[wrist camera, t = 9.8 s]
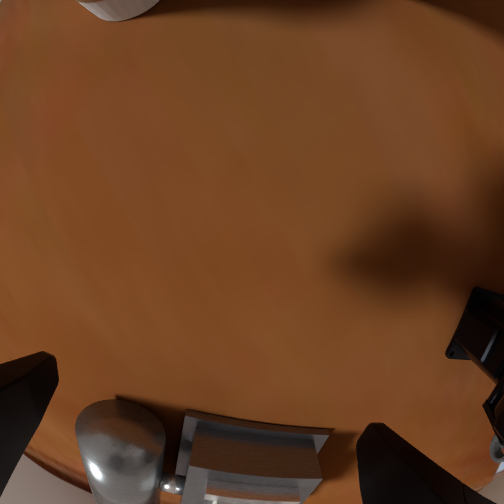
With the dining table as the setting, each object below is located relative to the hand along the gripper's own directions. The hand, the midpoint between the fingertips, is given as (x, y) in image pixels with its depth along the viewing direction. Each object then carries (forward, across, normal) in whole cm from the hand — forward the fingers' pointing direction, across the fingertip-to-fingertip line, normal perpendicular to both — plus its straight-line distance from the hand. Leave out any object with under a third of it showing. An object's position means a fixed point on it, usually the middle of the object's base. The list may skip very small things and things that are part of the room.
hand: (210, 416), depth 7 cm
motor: (+12, -1, +19) cm, 23 cm away
